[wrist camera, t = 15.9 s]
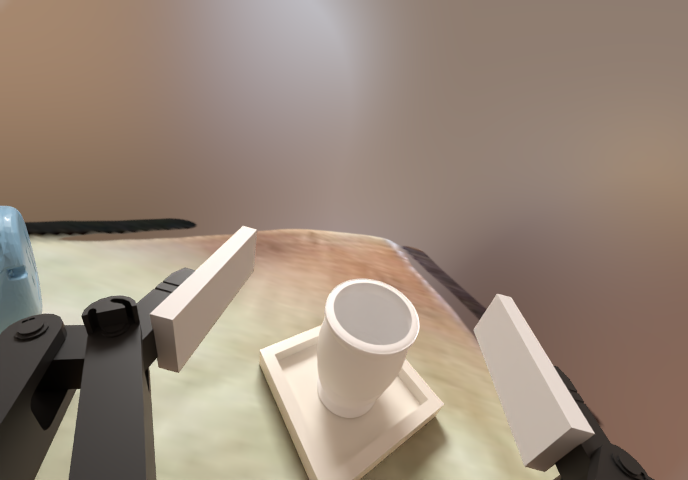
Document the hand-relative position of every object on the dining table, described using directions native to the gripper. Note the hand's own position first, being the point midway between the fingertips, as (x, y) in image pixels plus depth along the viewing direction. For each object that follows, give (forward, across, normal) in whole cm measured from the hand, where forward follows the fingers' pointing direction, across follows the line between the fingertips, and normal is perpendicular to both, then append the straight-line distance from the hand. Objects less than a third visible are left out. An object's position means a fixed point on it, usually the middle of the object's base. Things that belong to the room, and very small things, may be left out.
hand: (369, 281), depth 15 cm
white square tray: (+12, +4, -27) cm, 30 cm away
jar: (+12, +4, -26) cm, 29 cm away
